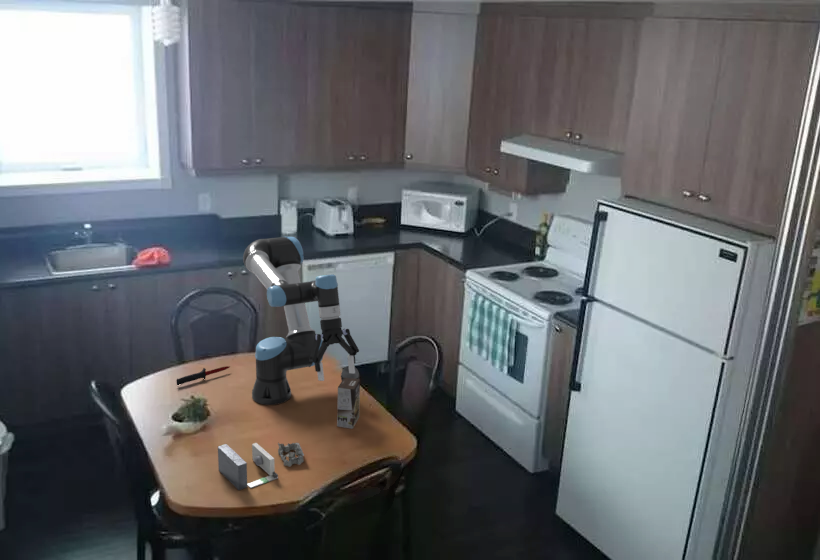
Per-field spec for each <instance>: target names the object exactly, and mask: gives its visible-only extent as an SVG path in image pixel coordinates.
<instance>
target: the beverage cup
mask: <svg viewBox="0 0 820 560" xmlns="http://www.w3.org/2000/svg"><path fill="white" fill-rule="evenodd" d="M344 378H354V379H360V373H359V370H358V368H356V367H355V373H354V374H353V373H349V367H348V366H344V368H343V369H342V371H341V374H340V379H341V381H342V380H343V379H344Z"/></svg>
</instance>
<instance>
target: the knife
mask: <svg viewBox="0 0 820 560" xmlns="http://www.w3.org/2000/svg"><path fill="white" fill-rule="evenodd" d="M230 367H231V366H221V367H218V368H217V367H216V368H214V369H211V370H207V369H206V368H205V367H203V369H202V370H201V371H200V372H198V373H197V372H196V373H191V374H189V375H185V376H182V377H180V378H176V381H175V382H176V386H177V385H179V384H181V385H183V384H186V383H190V382H193V381H197V380H199V379H203V378H204V379H205V380H206V377H207V376H210V375H212V374H216V373H220V372H224V371H225V370H228V369H229V368H230ZM204 379H203V380H204Z"/></svg>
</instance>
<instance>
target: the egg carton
mask: <svg viewBox="0 0 820 560" xmlns="http://www.w3.org/2000/svg"><path fill="white" fill-rule="evenodd" d="M277 445H278V449H277V455H278V456H280V460H281V461H283V463H282V465H283V466H284V467H285V466H287V467H292V465H298V466H300V465H302V463H304V456H305V454H304V452H303V449H302V447H301V445H300V443H299V442H292V443H287V445H284V443H279V442H277ZM291 450H293V452H292V451H291ZM284 453H287V454H285V455H284ZM296 456H297V457H296ZM286 457H287V458H288V459H287V458H286Z"/></svg>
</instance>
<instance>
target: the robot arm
mask: <svg viewBox="0 0 820 560" xmlns="http://www.w3.org/2000/svg"><path fill="white" fill-rule="evenodd" d="M304 257H305V256H304V249H303V247H302V244H301V241H299V239H297V238H296V237H295V236H282V237H271V238H259V239H256V240H254V241H252V242H251V243H250V244H249V245H247V247H246V248H245V250H244V252H243V256H242V260H243V261H242V262H243V264H244V267H245V268H246V269H247V270H248V271H249V272H250V273H252V274H254V275H255V277H257V280H259V282H260V283H261V285H263V286H264V288H265V289H266V298H267V301H268V304H269V306H270V307H272V308H273V307H275V308H276V307H277V308H278V307H283V309H284V313H285V318H286V319H285V320H286V324H287V328H288V333H287V335H286V337H285V338H286V339H285V338H283V337H280V336H270V337H266V338H264V339H262V340H259V342H258V343H257V344H256V346H255V353H254V355H255V356H254V357H255V374H256V375H255V382H254V384H253V388H252V390H251V391H252V392H251V398H252V400H253V401H254V402H256V403H258V404H260V405H267V406H271V405H272V406H273V405H275V406H276V405H280V404H282V403H283V404H284V403H285V402H287V401H289V400H290V399H291V397H292V390H291V386H290V383H289V381H288V378H287V372H288V371H291V370H298V369H303V368H311V367H313V366H314V371H315V372H316V373H317V380H318V381H321V382H324V381H325V374H324V367H323V366H324V365H323V362H322V361H323V357H324V355H325V353H326V351H327V350H328V348H329V346H330V345H332V346H333V345H334V344H339V345H340V346H341V348H343V350H344V351H345V352H346V353H347V354H348V355H346V356H347V364H348V367H349V373H353V374H354V373H355V368H356V367H355V364H356V355H358V354H357V353H359V352H360V349H359V348H358V346H357V344H356V341H355V340H354V339H353V337H352V334H351V331H350V328H343V329H342V327H343V324H342V318H341V315H342V314H341V307H340V298H339V287H338V286H339V284H338V281H337V280H338V279H337V276H336V275H335V274H325V275H324V274H323V275H317V276H316V277H315V279H314V280H310V281H304V282H303V281H302V282H301V278H300V273H299V270H300V269H301V267H302V266H301V265H302V264H303V262H304ZM315 302H317V304H318V306H317V307H318V316H319V319H320V320H319V323H320V324H319V325H320V330H321V333H316V331H315V329H313V328H312V327H311V325H310V320H309V314H308V312H307V311H308V310H307V307H306V304H307V303H315ZM343 336H344V338H345V339H344V338H343Z"/></svg>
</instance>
